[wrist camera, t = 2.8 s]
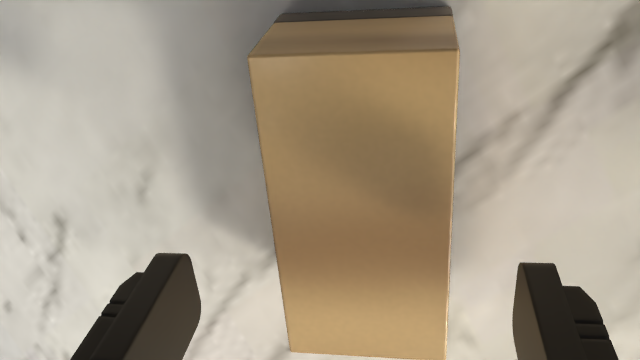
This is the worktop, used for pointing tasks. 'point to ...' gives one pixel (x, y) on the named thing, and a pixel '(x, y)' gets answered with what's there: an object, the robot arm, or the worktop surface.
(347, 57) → the eraser
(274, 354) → the worktop surface
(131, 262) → the worktop surface
